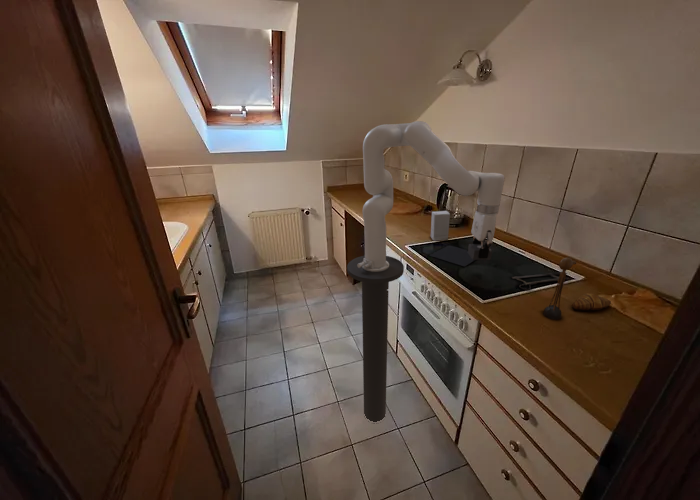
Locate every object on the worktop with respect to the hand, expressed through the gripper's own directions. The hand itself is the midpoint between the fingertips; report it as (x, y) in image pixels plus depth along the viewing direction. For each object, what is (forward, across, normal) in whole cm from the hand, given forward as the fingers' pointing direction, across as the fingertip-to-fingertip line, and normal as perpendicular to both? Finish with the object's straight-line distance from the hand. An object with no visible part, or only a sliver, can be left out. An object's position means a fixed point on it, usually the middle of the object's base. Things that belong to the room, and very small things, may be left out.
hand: (479, 253), depth 114 cm
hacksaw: (+11, +2, +26) cm, 28 cm away
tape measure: (+1, 0, 0) cm, 1 cm away
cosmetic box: (+12, -46, -4) cm, 48 cm away
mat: (+11, -24, -1) cm, 26 cm away
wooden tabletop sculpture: (+11, +24, +16) cm, 31 cm away
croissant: (+10, +20, +30) cm, 38 cm away
